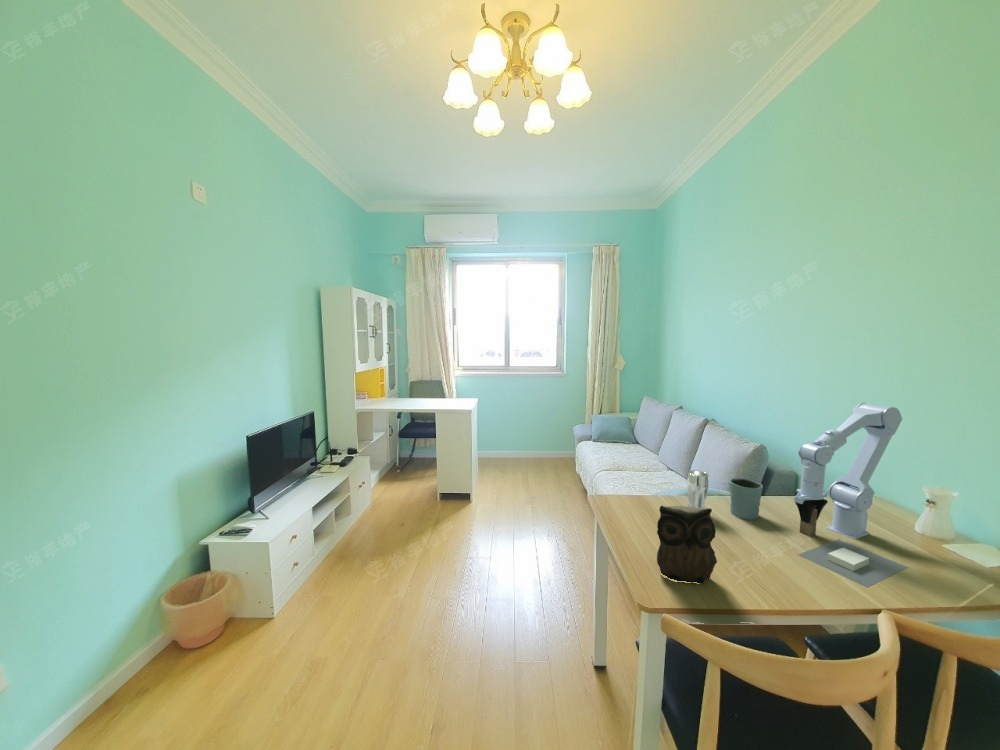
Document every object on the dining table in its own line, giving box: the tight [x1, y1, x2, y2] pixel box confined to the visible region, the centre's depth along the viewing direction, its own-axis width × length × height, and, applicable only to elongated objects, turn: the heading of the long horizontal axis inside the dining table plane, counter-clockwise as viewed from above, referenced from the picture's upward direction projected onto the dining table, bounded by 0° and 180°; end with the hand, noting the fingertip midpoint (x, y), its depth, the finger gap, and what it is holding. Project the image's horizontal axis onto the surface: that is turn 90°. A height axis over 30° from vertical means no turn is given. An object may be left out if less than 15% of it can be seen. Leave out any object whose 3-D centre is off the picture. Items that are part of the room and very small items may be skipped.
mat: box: [797, 538, 909, 588], centre depth 108 cm, size 22×16×1 cm
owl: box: [656, 504, 718, 584], centre depth 101 cm, size 13×13×20 cm
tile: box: [827, 548, 869, 572], centre depth 107 cm, size 2×6×8 cm
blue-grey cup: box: [729, 477, 764, 521], centre depth 137 cm, size 10×10×12 cm
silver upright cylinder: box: [686, 469, 710, 508], centre depth 138 cm, size 7×7×15 cm
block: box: [799, 509, 818, 537], centre depth 123 cm, size 3×3×9 cm
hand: (809, 520), depth 123 cm, fingers open, 4 cm apart
